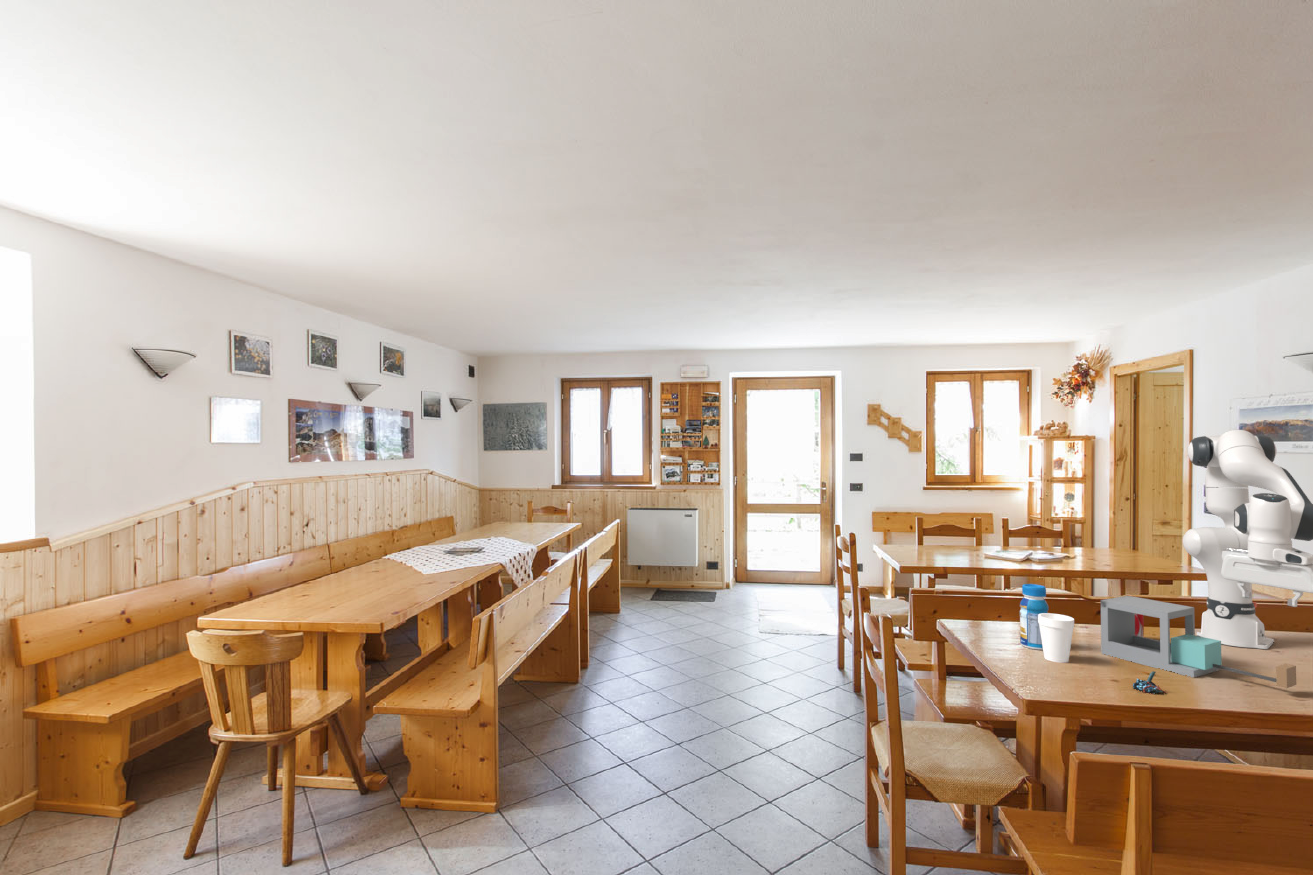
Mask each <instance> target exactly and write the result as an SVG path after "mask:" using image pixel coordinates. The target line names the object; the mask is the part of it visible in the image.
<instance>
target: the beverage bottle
mask: <svg viewBox="0 0 1313 875" xmlns="http://www.w3.org/2000/svg"><path fill="white" fill-rule="evenodd" d="M1021 590H1022V591H1021V592H1022V595H1023V596H1024V597H1022V599H1021V600H1020V602H1019V607H1020V610H1019V624H1020V626H1019V627H1020V628H1019V631H1020V632H1019V633H1020V634H1019V635H1020V636H1019V637H1020V639H1019V640H1020V641H1019V642H1020V645H1021V646H1022V647H1024V648H1027V649H1031V650H1037V651H1038V650H1039V651H1043V646H1042V640H1041V633H1040V627H1039V623H1038V615H1039V614H1042V613H1049V612H1048V611H1049V605H1048V603H1047V601H1046V597H1047V587H1046V586H1045V585H1041V584H1035V583H1025V584H1022V587H1021Z"/></svg>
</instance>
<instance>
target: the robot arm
mask: <svg viewBox="0 0 1313 875" xmlns="http://www.w3.org/2000/svg"><path fill="white" fill-rule="evenodd" d="M1277 451H1278V450H1277V446H1276V444H1275V441H1274V439H1273V438H1271V437H1270V436H1269V435H1261V434H1255V435H1254V434H1253V433H1252V432H1250V431H1248V430H1244V429H1232V430H1228V431H1226V432H1224V433H1222V434H1220V435H1211V436H1206V435H1203V436H1197V437H1194V438H1192V439H1191V440H1190V442H1189V444H1188V447H1187V450H1186V452H1187V456H1188V459H1189V461H1190V462H1191V463H1192V464H1193V465H1194V466H1197V467H1201V468H1206V470H1205V481H1204V482H1205V484H1204V487H1205V489H1204V490H1205V507H1206V509H1207V510H1208V512H1209V513H1211V514H1212V515H1214V516H1216V517H1218V518H1220V519H1221V520H1222V521H1223V523H1224V527H1215V526H1214V527H1211V526H1204V527H1197V528H1189V529H1187V531H1186V532H1185V533H1184V534H1183V537H1182V546H1183V548H1184V550H1185V552H1186V553H1187V554H1189V555H1190V556H1191V557H1193V558H1194V559H1195V560H1197V561H1198V562H1199V564H1200V565H1201V566H1202V568H1203V570H1204V571H1205V575H1206V579H1207V580H1206V581H1207V588H1208V589H1207V590H1208V596H1207V598H1206V608H1207V610H1206V611H1203V612H1202V615H1201V628H1200V629H1201V630H1200V631H1196V633H1195V634H1196V635H1195V636H1200V637H1205V638H1210V639H1215V640H1219V641H1221V645H1225V646H1231V647H1232V646H1233V647H1239V648H1250V649H1252V648H1253V649H1260V650H1261V649H1262V650H1269V648H1270V647H1272V645H1273V644H1274V643H1275V639H1274V638H1271V637H1267V636H1266V634H1265V633H1266V632H1265V624H1264V623H1263V622H1262V621H1261V620H1260V618H1259V617H1258V616H1257V615H1256V609H1257V607H1258V604H1257V602H1256V601H1253V589H1252V588H1253V585H1260V586H1267V587H1273V588H1279V589H1284V590H1291V591H1292V594H1293V595H1294V596H1293V597H1292V598H1288V599H1287V602H1286V604H1287V606H1289V607H1294V608H1296V607H1298V601H1299V600H1300V598H1302V597H1303V595H1304V593H1310V594H1313V554H1311V553H1309V552H1305V551H1303V550H1300V549H1297V548H1295V547H1293V541H1292V540H1293V539H1294V540H1298V541H1305V542H1310V541H1313V502H1312V501H1311V500H1310V499H1309V497H1308V496H1307V494H1305V492H1304V491H1303V489H1302V488H1301V486H1300V485H1299V483H1298V482H1297V481H1296V479H1295V478H1294V477H1293V475H1292V474H1291V473H1290V472H1289V471H1288V470H1287V469H1286V468H1284V467H1282V466H1280V465H1277V464H1276V463H1275V462H1274V461H1275V458H1276V456H1277ZM1249 487H1254V488H1260V489H1263V490H1267V491H1271V492H1273V493H1271V492H1269V493H1266V492H1260V493H1255V494H1252V495H1250V494H1249ZM1273 642H1274V643H1273Z"/></svg>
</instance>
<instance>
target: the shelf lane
mask: <svg viewBox="0 0 1313 875" xmlns="http://www.w3.org/2000/svg"><path fill="white" fill-rule="evenodd" d="M1135 613H1136V614H1141V615H1143V616H1147V617H1152V618H1158V619H1159V640H1158V639H1153V638H1149V637H1145V636H1144V637H1141V636H1136V635H1135ZM1181 617H1184V631H1185V632H1184V633H1185V634H1191V635H1195V634H1196V633H1195V632H1196V630H1195V627H1196V626H1195V620H1196V618H1195V607H1194V606H1190V605H1189V606H1188V605H1183V604H1176V603H1171V602H1165V601H1160V600H1154V599H1149V598H1143V597H1136V596H1132V595H1123V596H1118V597H1113V598H1111V597H1110V598H1106V599H1100V637H1101V638H1100V640H1101V641H1100V645H1101V646H1100V647H1101V648H1100V650H1101V651H1100V653H1102V654H1101V655H1104V654H1106V655H1105V656H1108V655H1110V656H1109V657H1112V656H1113V657H1112V658H1115V657H1117V658H1116V659H1119V658H1120V659H1121V660H1123V659H1124V660H1123V661H1128V662H1131V661H1132V663H1134V664H1135V663H1136V664H1139V665H1143V666H1148V667H1151V668H1154V669H1158V668H1160V669H1159V670H1162V669H1164V670H1163V671H1166V670H1167V671H1166V672H1169V671H1172V672H1171V673H1173V672H1175V673H1174V674H1177V673H1178V674H1177V675H1181V676H1185V675H1187V676H1186V677H1189V676H1190V677H1189V678H1193V677H1195V678H1198V677H1201V676H1204V675H1208V674H1210V673H1211V674H1212V673H1214V672H1218V671H1220V670H1221V669H1219V668H1215V667H1214V668H1210V669H1207V670H1203V669H1199V668H1195V667H1191V666H1187V665H1183V664H1179V663H1175V662H1171V633H1170V630H1171V629H1170V626H1171V625H1170V620H1172V619H1177V618H1181ZM1185 634H1184V635H1185ZM1195 636H1196V635H1195ZM1197 676H1198V677H1197Z"/></svg>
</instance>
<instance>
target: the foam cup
mask: <svg viewBox="0 0 1313 875" xmlns="http://www.w3.org/2000/svg"><path fill="white" fill-rule="evenodd" d="M1038 623H1039V627H1040V633H1041V640H1042V646H1043V650H1042V651H1043V657H1044V659H1045V660H1047V661H1050V662H1054V663H1061V664H1063V663H1064V664H1065V663H1069V659H1070V653H1071V646H1072V639H1073V633H1074V628H1075V618H1073V617H1072V616H1069V615H1065V614H1059V613H1050V612H1048V613H1042V614H1039V615H1038Z"/></svg>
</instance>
